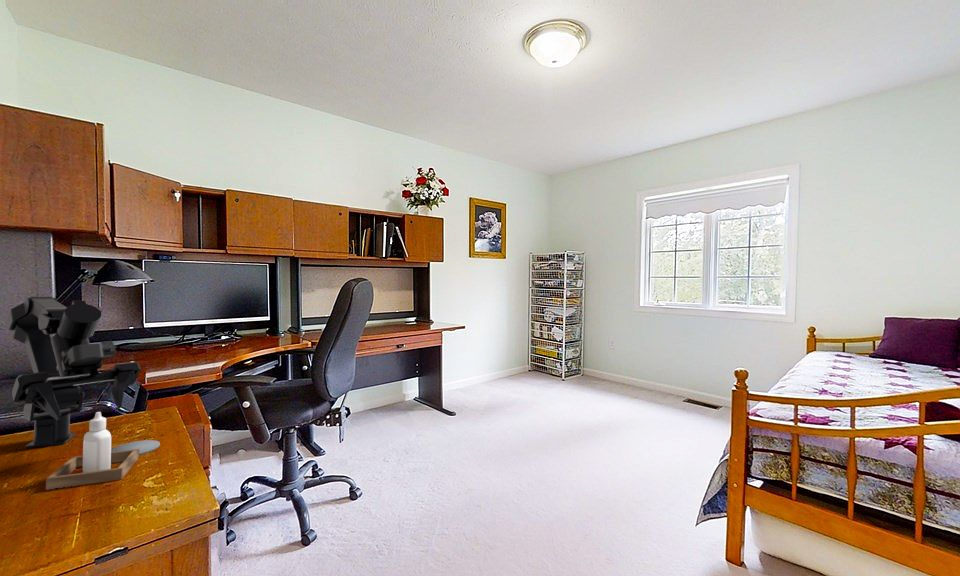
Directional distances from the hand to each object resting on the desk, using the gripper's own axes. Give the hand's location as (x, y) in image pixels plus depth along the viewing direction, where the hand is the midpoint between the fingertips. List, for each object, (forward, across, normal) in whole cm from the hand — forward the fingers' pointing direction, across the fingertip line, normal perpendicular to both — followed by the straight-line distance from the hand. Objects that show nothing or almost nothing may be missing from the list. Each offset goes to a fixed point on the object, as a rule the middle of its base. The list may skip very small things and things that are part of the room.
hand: (90, 413), depth 82 cm
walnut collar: (+11, 0, +5) cm, 12 cm away
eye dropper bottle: (+11, 0, +5) cm, 12 cm away
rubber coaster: (+5, +9, +10) cm, 15 cm away
